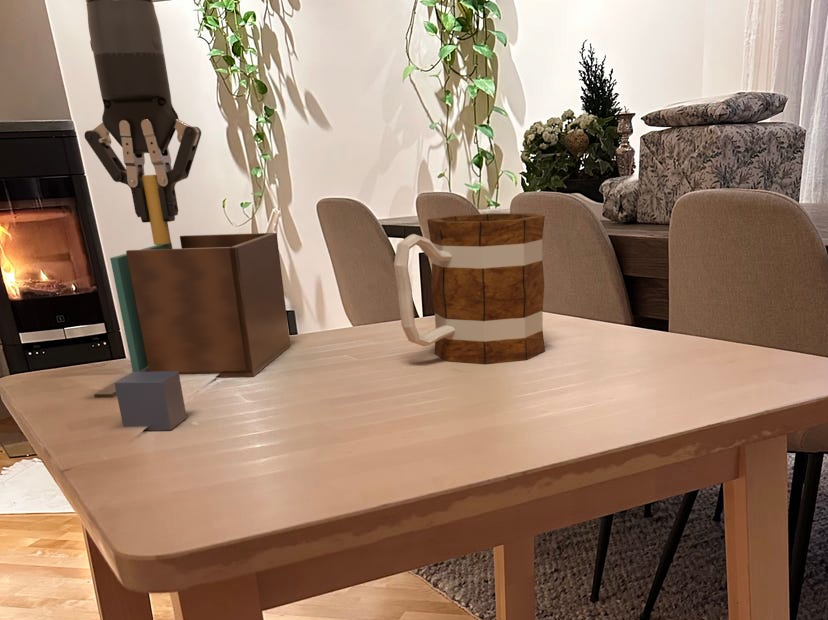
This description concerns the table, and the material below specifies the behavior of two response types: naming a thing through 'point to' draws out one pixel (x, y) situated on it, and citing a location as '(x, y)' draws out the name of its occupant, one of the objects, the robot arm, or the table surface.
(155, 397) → the block
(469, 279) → the mug
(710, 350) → the table surface
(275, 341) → the cubby
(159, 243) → the sliding door
